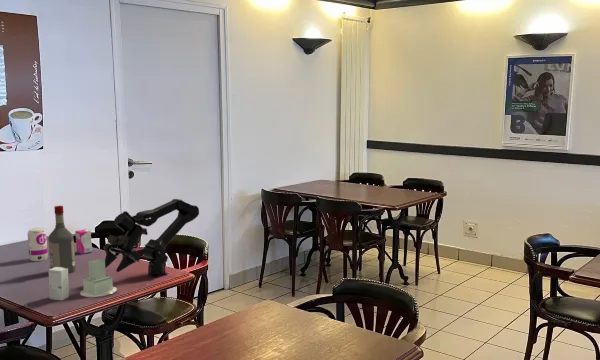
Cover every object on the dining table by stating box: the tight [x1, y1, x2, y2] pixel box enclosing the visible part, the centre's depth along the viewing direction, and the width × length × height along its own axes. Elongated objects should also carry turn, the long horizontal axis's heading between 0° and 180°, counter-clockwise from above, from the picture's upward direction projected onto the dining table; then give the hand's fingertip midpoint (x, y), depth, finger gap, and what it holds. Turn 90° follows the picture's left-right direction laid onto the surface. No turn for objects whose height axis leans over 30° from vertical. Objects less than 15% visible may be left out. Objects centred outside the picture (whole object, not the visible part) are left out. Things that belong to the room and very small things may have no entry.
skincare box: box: [48, 267, 70, 301], centre depth 227 cm, size 6×4×12 cm
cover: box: [82, 258, 114, 295], centre depth 234 cm, size 8×8×12 cm
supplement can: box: [27, 227, 49, 262], centre depth 285 cm, size 8×8×15 cm
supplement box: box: [74, 228, 93, 256], centre depth 297 cm, size 6×6×12 cm
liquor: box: [48, 205, 76, 274], centre depth 263 cm, size 9×9×30 cm
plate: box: [79, 286, 118, 298], centre depth 235 cm, size 14×14×1 cm
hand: (110, 269), depth 239 cm, fingers open, 9 cm apart
